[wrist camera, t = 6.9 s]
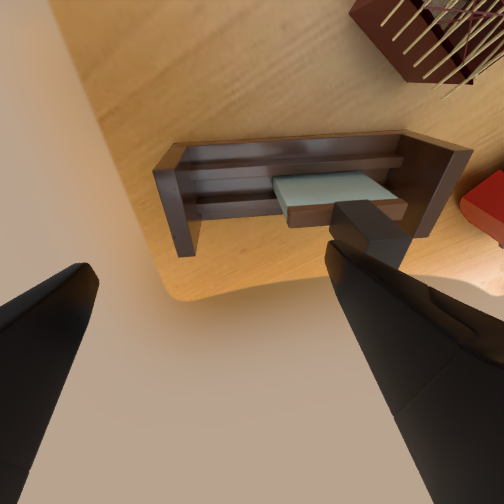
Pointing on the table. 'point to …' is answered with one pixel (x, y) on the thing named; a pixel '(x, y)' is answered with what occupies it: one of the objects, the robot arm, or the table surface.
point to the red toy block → (487, 206)
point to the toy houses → (434, 38)
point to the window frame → (300, 163)
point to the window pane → (347, 211)
